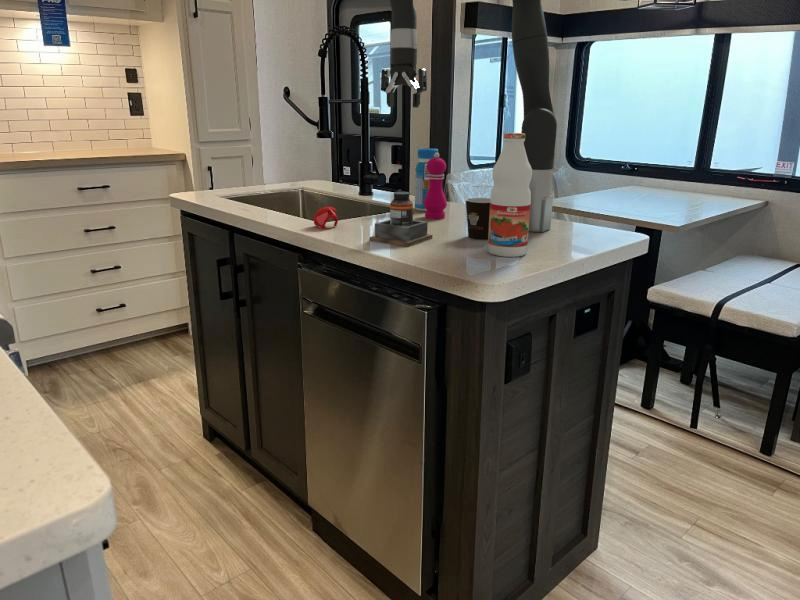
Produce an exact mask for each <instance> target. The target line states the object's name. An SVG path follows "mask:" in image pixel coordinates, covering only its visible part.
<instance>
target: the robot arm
mask: <svg viewBox="0 0 800 600" xmlns="http://www.w3.org/2000/svg"><path fill="white" fill-rule="evenodd" d="M389 1H390V2H389V3H390V9H391V33H390V66H391V68H390V69H385V68H382V69H381V73H380V75H381V76H380V91H382V92H383V93H385V94H386V105H387V108H394V106H395V91H396V89H397V88H399V86H409V88H411V91H412V92H413V93H412V108H419V107H420V105H421V94H422V93H424V92H426V91H427V90H428V84H427V83H428V81H427V80H428V79H427V78H428V77H427V76H428V75H427V69H426V68H418V69H417V64H418V32H417V29H418V28H417V19H418V17H417V16H418V15H417V9H416V8H415V6H414V0H389ZM511 42H512V52H513V58H514V64H515V69H516V73H517V77H518V81H519V85H520V87H521V93H522V104H523V121H522V124H521V131H520V133H524V134H525V141H524V147H525V151H526V155H527V158H528V161H529V164H530V166H531V168H532V177H531V181H530V183H529V189H530V192H531V204H530V217H529V230H528V232H535V233H536V232H541V233H544V232H547V231H549V230H550V229H551V227H552V226H551V224H552V215H553V204H554V203H553V202H554V196H553V195H552V186H553V185H552V184H553V175H554V174H553V173H554V163H555V155H556V154H555V149H556V141H557V129H558V128H557V127H558V122H557V118H556V116H555V112H554V107H553V103H552V97H551V92H550V50H549V39H548V31H547V26H546V19H545V13H544V9H543V5H542V0H512V18H511ZM390 77H391V80H390ZM416 77H417V78H418V81H417V80H416Z"/></svg>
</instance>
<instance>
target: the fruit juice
mask: <svg viewBox="0 0 800 600" xmlns="http://www.w3.org/2000/svg"><path fill="white" fill-rule="evenodd" d="M503 141H504V144H503V146H502V149H501V151H500V154H499V157H498V159H497V161H496V163H495V164H494V166H493V168H492V172H491V173H492V180H493V187H492V189H491V192H490V215H489V233H488V240H487V251H488V254H490V255H492V256H493V255H494V256H497V257H505V258H513V257H514V258H516V257H522V256H524V255H526V254H527V252H528V243H529V242H528V241H529V231H528V230H529V217H530V204H531V192H530V189H529V183H530V181H531V177H532V168H531V166H530V164H529V161H528V158H527V155H526V151H525V147H524V141H525V134H524V133H521V132H504V133H503Z"/></svg>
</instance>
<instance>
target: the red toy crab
mask: <svg viewBox="0 0 800 600" xmlns="http://www.w3.org/2000/svg"><path fill="white" fill-rule="evenodd" d="M336 212H337V209H336V208H335V207H333V206H325V207H322V208H320V209H319V210H317V211H316V212H315V214H314V217H313V224H314V225H315V226H316V225H319V226H318V227H320V228H321V229H323V228H326V229H327V226H326V224H327V223H328V221H329V220H330V219H333V220H334V224H333V227H334V226H336V227H337V226H338V222H339V217H338V216H337V214H336Z"/></svg>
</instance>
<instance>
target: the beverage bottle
mask: <svg viewBox="0 0 800 600" xmlns="http://www.w3.org/2000/svg"><path fill="white" fill-rule="evenodd" d="M435 153H439V149H438V148H430V147H429V148H428V147H425V148H424V147H423V148H422V147H421V148H420V147H419V148H418V149H417V160H418V161H417V164H416V166H415V169H414V171H415V176H414V210H416V211H419V212H421V211H422V212H426V211H427V209H426V208H425V207H424V200H425V197H426V195H427V193H428V190H429V184H430V182H429V179H428V174H429V172H428V170H427V163H428V161H429V160H430V159H432V158H434V154H435Z"/></svg>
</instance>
